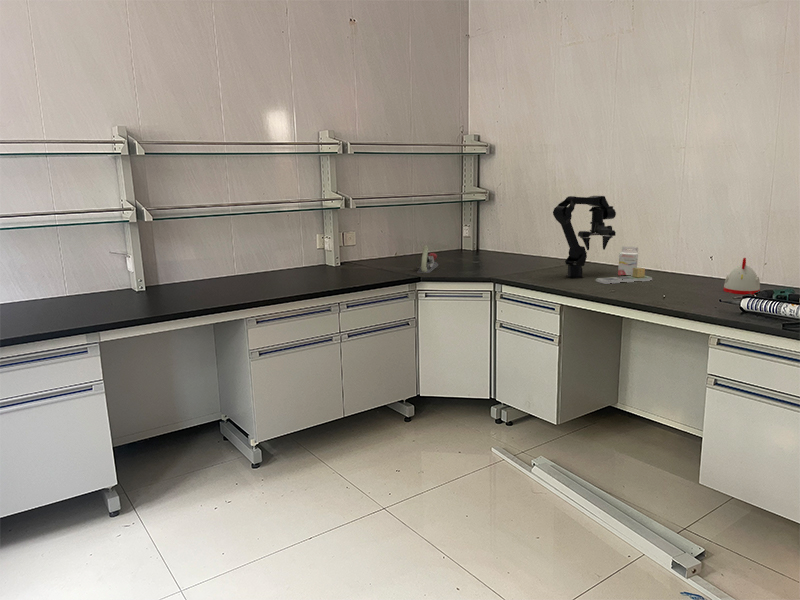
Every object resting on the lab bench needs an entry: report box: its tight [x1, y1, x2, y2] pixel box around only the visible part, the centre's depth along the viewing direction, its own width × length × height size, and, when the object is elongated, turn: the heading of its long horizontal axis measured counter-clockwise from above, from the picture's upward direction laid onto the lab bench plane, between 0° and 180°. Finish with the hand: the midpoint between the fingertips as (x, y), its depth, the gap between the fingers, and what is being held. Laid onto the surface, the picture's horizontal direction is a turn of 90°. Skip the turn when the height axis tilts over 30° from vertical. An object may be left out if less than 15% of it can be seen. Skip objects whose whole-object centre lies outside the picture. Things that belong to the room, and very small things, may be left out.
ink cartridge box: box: [617, 246, 639, 276], centre depth 307 cm, size 9×5×15 cm, turn 56°
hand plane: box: [416, 245, 439, 274], centre depth 343 cm, size 7×31×15 cm, turn 166°
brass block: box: [632, 267, 646, 278], centre depth 294 cm, size 4×4×6 cm
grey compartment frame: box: [595, 275, 653, 285], centre depth 293 cm, size 26×8×2 cm, turn 102°
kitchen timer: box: [723, 257, 761, 295], centre depth 261 cm, size 14×14×15 cm
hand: (596, 249), depth 311 cm, fingers open, 9 cm apart
